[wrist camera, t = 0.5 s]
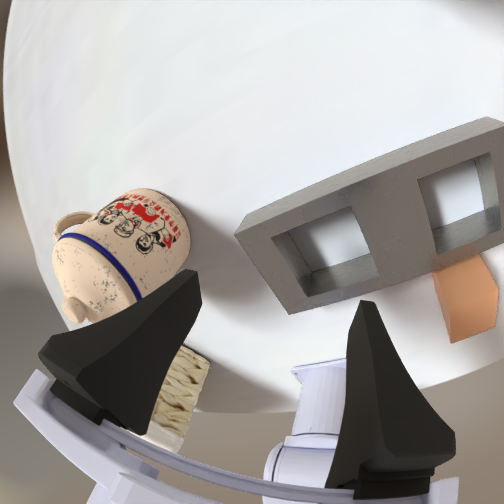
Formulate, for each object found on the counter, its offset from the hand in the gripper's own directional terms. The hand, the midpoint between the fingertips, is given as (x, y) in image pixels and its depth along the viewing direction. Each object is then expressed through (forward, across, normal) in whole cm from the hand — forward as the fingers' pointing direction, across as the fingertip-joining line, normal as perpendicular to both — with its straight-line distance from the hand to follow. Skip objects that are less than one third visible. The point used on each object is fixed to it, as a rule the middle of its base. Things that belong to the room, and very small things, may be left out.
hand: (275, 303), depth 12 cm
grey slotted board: (+10, -6, -1) cm, 12 cm away
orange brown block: (+10, -14, +3) cm, 17 cm away
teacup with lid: (+10, +15, +3) cm, 18 cm away
